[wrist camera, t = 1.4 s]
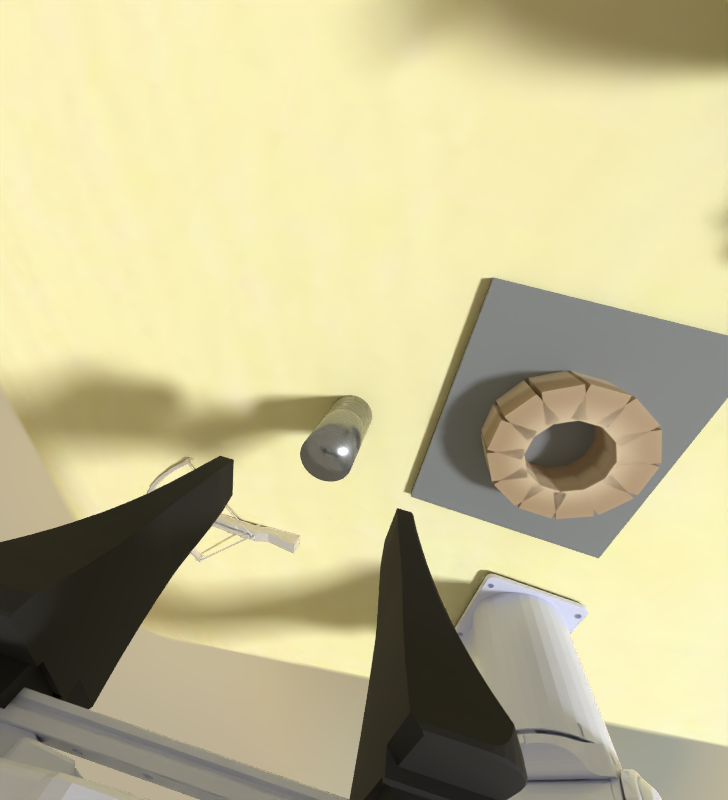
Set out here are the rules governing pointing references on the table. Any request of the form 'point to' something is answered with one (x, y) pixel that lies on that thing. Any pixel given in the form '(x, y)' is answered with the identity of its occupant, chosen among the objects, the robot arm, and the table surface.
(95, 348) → the table surface
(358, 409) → the peg
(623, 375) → the mat
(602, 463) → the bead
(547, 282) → the table surface
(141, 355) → the table surface
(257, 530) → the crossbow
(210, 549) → the table surface
